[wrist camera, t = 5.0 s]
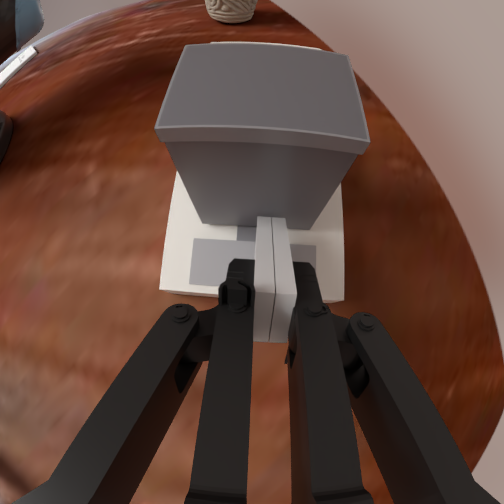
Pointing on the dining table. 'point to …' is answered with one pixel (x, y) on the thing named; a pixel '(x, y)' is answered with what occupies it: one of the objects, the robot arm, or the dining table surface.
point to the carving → (231, 10)
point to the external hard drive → (16, 65)
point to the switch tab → (262, 130)
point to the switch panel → (245, 246)
